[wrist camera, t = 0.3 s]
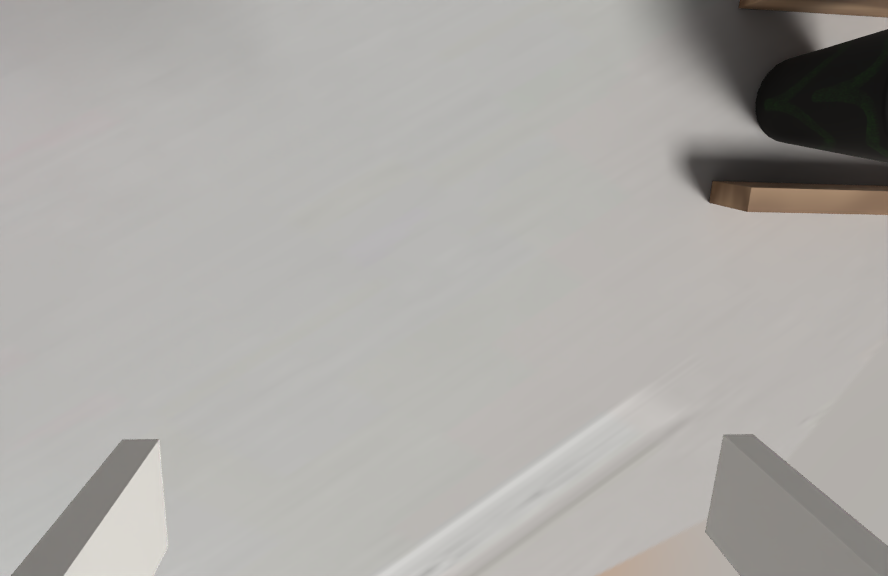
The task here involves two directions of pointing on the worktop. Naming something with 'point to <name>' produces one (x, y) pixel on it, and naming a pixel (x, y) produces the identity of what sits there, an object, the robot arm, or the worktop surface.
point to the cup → (831, 99)
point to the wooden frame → (798, 195)
